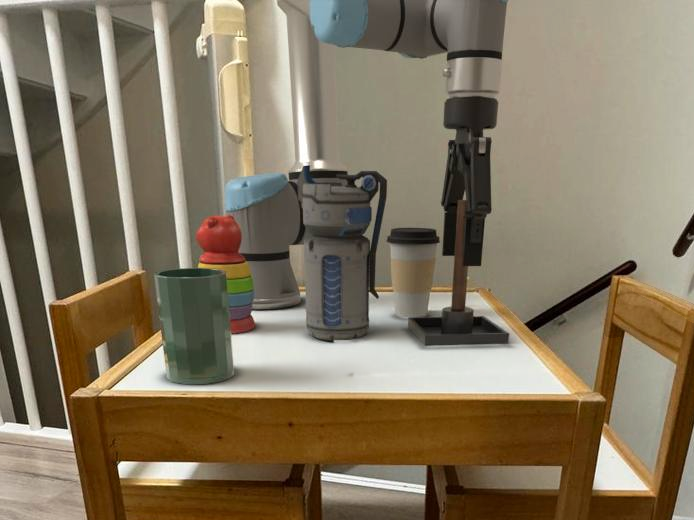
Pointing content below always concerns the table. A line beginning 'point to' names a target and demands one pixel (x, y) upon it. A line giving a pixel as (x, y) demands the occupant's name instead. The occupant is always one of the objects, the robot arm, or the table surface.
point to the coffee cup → (412, 269)
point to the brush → (458, 286)
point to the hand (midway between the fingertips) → (460, 260)
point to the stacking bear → (229, 266)
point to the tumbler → (195, 324)
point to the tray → (481, 334)
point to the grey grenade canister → (340, 252)
